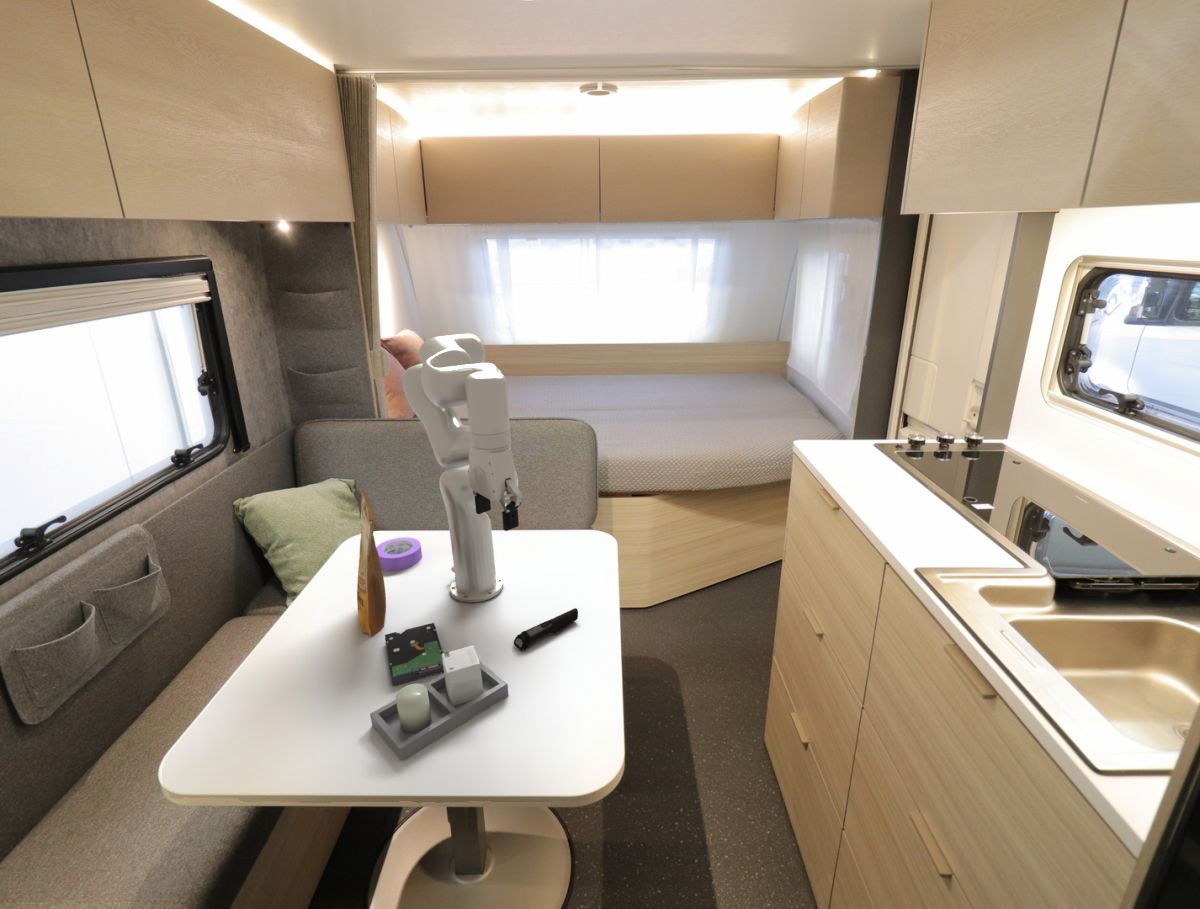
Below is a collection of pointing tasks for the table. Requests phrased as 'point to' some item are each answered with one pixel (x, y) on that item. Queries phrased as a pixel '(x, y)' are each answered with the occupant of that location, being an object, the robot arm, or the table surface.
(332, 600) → the table surface
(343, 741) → the table surface
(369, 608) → the pancake mix bag
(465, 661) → the white box
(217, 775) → the table surface
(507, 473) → the robot arm
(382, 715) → the caddy
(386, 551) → the masking tape
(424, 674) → the disk drive
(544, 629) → the electric trimmer
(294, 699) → the table surface
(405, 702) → the sage jar
